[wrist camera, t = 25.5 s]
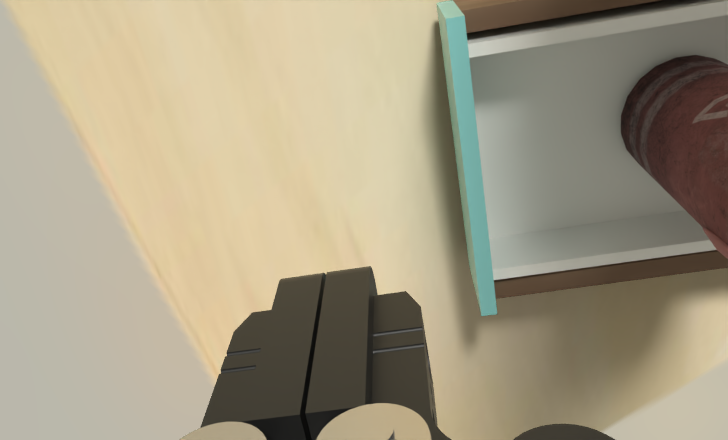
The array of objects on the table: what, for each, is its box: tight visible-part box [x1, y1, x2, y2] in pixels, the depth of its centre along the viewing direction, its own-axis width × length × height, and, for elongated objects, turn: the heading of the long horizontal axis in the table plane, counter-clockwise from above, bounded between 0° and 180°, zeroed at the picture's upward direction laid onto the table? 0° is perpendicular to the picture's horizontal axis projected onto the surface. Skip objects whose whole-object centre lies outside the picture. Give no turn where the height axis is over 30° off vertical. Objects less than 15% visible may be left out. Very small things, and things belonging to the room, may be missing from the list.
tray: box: [437, 0, 728, 316], centre depth 34 cm, size 15×16×5 cm
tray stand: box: [453, 0, 728, 299], centre depth 35 cm, size 15×17×5 cm
